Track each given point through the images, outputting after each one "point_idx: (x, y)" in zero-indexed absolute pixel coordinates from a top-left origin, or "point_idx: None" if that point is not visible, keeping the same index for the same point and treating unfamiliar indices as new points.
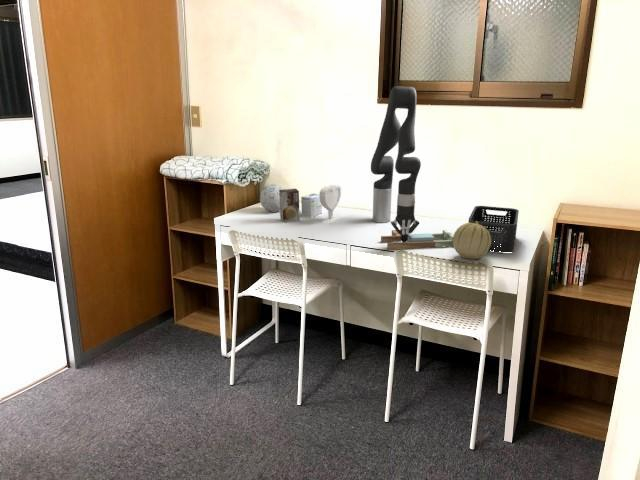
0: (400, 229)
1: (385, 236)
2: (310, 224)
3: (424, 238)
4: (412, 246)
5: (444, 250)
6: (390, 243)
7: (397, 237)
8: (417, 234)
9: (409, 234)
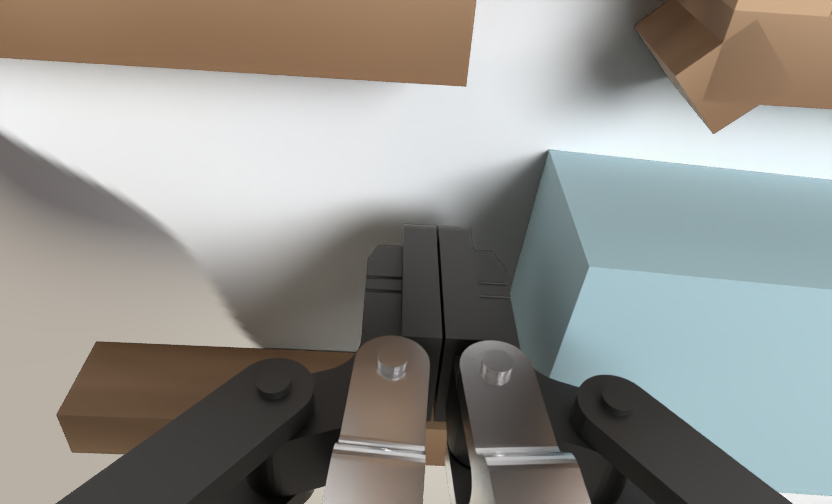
0: (344, 419)
1: (11, 13)
2: None
3: None
4: None
5: (821, 497)
6: (110, 435)
7: (360, 69)
8: (775, 337)
9: (599, 302)
